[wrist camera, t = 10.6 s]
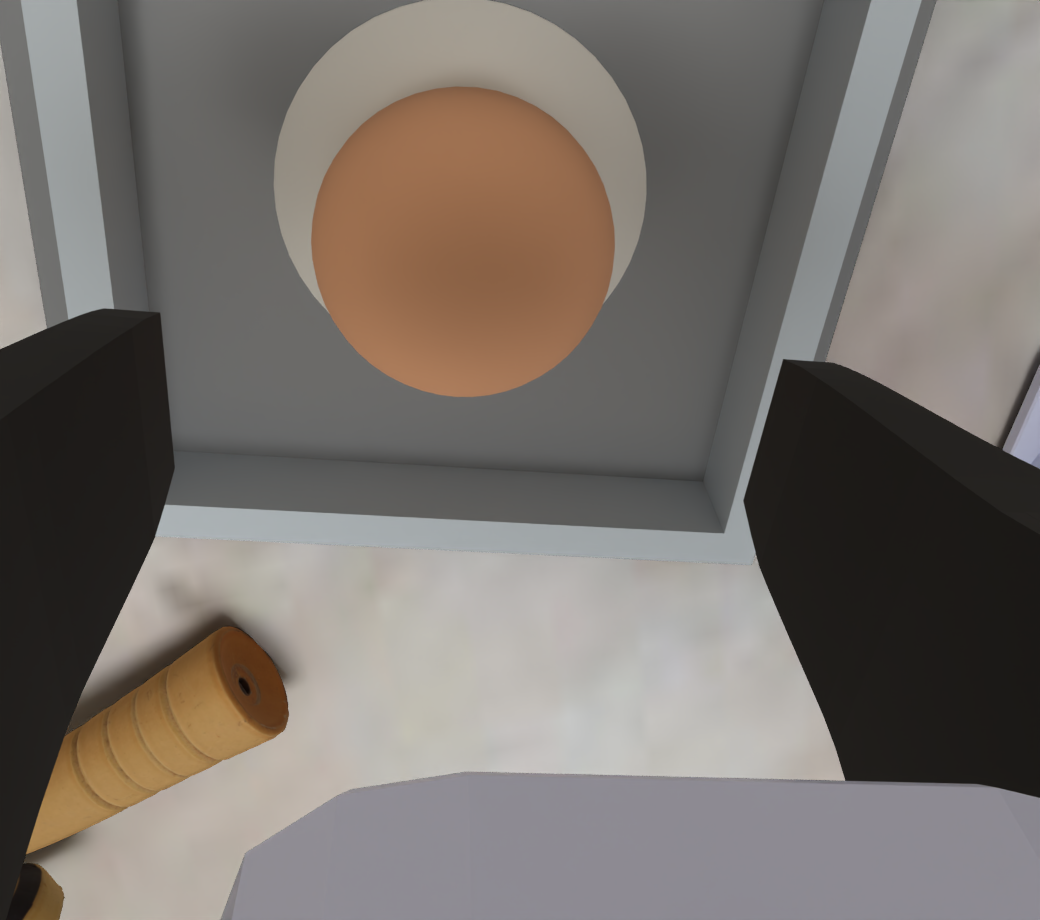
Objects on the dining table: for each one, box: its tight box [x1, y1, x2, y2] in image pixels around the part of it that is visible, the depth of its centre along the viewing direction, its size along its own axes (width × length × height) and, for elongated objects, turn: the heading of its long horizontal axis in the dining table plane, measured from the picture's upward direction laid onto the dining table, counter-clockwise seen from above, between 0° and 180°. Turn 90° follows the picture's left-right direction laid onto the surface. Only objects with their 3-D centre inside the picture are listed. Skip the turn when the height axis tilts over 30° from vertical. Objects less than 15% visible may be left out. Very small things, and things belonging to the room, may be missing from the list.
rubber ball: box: [311, 87, 615, 397], centre depth 16 cm, size 5×5×5 cm
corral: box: [0, 0, 936, 565], centre depth 18 cm, size 16×16×2 cm
